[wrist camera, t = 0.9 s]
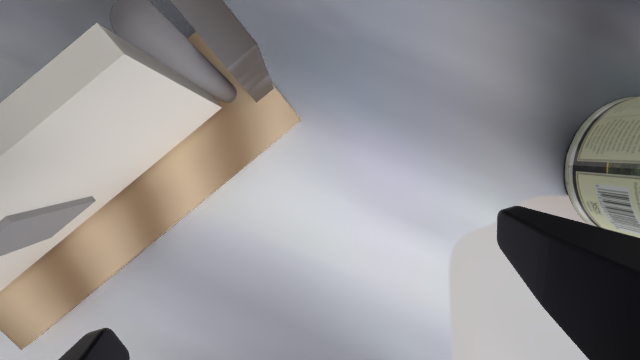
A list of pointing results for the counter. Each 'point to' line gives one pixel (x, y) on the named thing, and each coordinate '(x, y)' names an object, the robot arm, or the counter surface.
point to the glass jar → (607, 168)
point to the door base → (158, 181)
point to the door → (96, 126)
